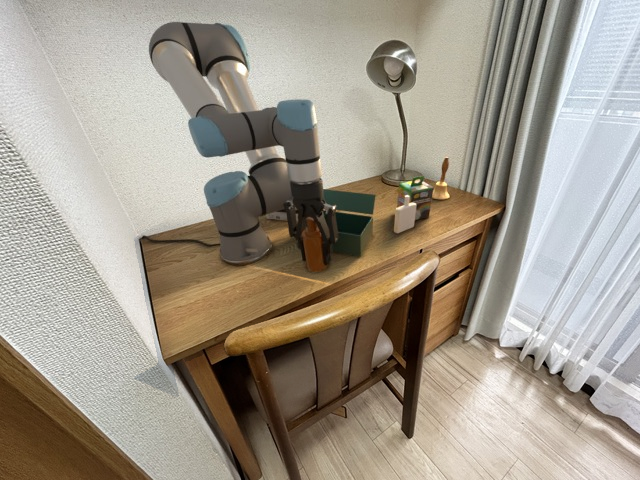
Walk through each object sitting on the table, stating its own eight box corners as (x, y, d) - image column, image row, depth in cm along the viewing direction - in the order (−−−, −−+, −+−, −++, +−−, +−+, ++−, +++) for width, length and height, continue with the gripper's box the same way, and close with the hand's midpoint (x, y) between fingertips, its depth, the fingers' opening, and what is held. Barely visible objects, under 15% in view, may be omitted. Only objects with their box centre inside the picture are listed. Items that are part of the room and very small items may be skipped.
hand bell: (445, 191, 116) (452, 154, 106) (452, 199, 109) (460, 159, 99) (426, 192, 115) (432, 155, 106) (433, 200, 108) (439, 160, 99)
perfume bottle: (410, 224, 92) (413, 192, 85) (414, 226, 91) (418, 194, 84) (393, 231, 89) (395, 198, 82) (397, 234, 88) (400, 200, 80)
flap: (314, 188, 87) (315, 188, 87) (313, 206, 88) (313, 207, 89) (375, 194, 81) (375, 194, 81) (372, 214, 82) (373, 214, 82)
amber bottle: (303, 270, 73) (294, 222, 65) (312, 258, 78) (306, 212, 69) (322, 274, 72) (316, 225, 63) (331, 261, 76) (326, 215, 67)
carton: (298, 245, 84) (294, 225, 79) (315, 227, 93) (313, 208, 89) (360, 257, 77) (360, 236, 73) (372, 236, 87) (373, 216, 83)
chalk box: (416, 207, 103) (421, 169, 95) (430, 217, 96) (436, 177, 88) (395, 212, 101) (398, 173, 92) (408, 222, 94) (412, 181, 85)
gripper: (350, 177, 60) (353, 258, 74) (279, 171, 66) (294, 248, 79) (337, 188, 54) (343, 274, 68) (261, 180, 60) (280, 261, 74)
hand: (316, 260), depth 74 cm, fingers closed on amber bottle, 6 cm apart
